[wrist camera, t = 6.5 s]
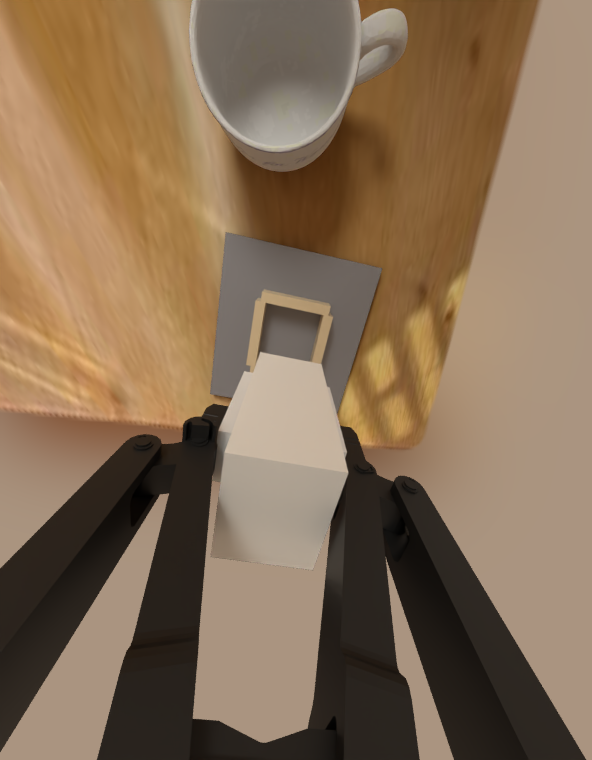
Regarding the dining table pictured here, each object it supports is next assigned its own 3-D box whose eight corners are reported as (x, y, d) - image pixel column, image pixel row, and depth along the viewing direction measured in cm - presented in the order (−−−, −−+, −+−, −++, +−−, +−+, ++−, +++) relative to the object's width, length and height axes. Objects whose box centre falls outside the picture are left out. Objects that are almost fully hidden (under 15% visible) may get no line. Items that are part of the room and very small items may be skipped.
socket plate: (228, 232, 28) (220, 230, 26) (379, 267, 30) (388, 269, 27) (212, 390, 35) (205, 401, 33) (335, 412, 37) (338, 425, 34)
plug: (260, 352, 18) (224, 452, 9) (321, 364, 18) (348, 472, 9) (249, 418, 20) (210, 556, 11) (304, 428, 20) (313, 570, 11)
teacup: (223, 178, 26) (195, 148, 19) (214, 12, 22) (174, -109, 15) (370, 184, 27) (398, 158, 19) (390, 22, 22) (436, -92, 15)
